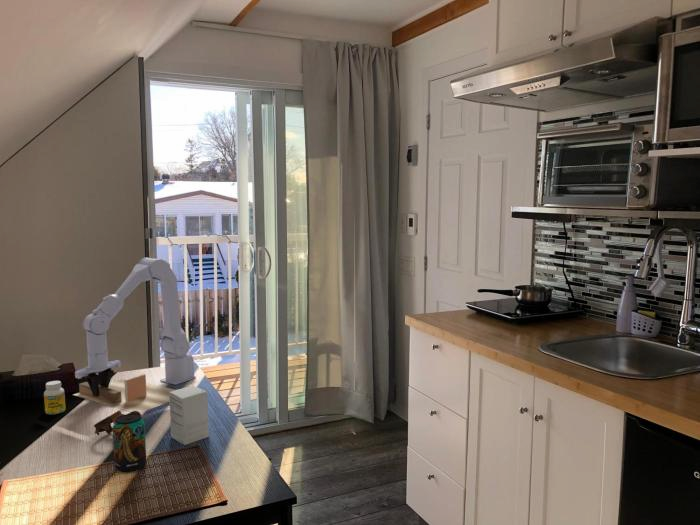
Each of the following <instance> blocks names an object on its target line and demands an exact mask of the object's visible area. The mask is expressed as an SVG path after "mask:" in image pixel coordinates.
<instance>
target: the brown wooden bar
mask: <svg viewBox="0 0 700 525" xmlns="http://www.w3.org/2000/svg"><path fill="white" fill-rule="evenodd" d="M78 386H79V389H78V390H79V393H80V394H83V395H86V396H90V397H93V398H97V399H100V400H104V401H107V402H111V403H114V404H116V403H119V402H121V401H122V397H121V391H118V390H114V389H111V388H107V387H103V386H101V385H100V384H99V396H98V397H95V396H93V394H92V391H91V388H90V386H89V384H88V382H87V381H84V382H81V383H80V382H79V384H78Z"/></svg>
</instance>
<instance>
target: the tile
mask: <svg viewBox="0 0 700 525" xmlns="http://www.w3.org/2000/svg"><path fill="white" fill-rule="evenodd" d="M127 378H128V379H125V378H124V379H125V380H124V384H125V402H130V401H133V400H136V399H139V398H142V397H144V396H147V394H146V383H147V378H146V374H145V373H141V374H138V375H135V376H133V377H127Z"/></svg>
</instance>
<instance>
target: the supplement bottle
mask: <svg viewBox="0 0 700 525" xmlns="http://www.w3.org/2000/svg"><path fill="white" fill-rule="evenodd" d="M43 401H44V402H43V403H44V412H45V414H46V415H58V414H61V413H64V412H65V411H66V396H65V389H64V388H63V387H62V382H61V381H60V380H52V381H51V380H50V381H47V382H46V383H45V391H44V392H43Z"/></svg>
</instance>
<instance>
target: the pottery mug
mask: <svg viewBox="0 0 700 525" xmlns="http://www.w3.org/2000/svg"><path fill="white" fill-rule="evenodd" d="M127 414H139V415H141V419H142V420H143V417H142V416H143V415H142V414H141V413H140V412H138V411H132V412H129V413H127ZM121 415H125V414H124V413H122V412H121V410H117V411H115V412H114V413H112V414H110V415H109V416H107V417H105V418H103V419H101V420H100V421H98V422H96V423H95V424H94V425H93V427H94V429H95V430H94V434H96V435H97V436H99V435H100V433H102V432H104V433H106V434H108V435H111V434H112V433H113V429H112V428H113V426H112V424H113V425H114V424H115V419H116V418H117V417H119V416H121Z"/></svg>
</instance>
